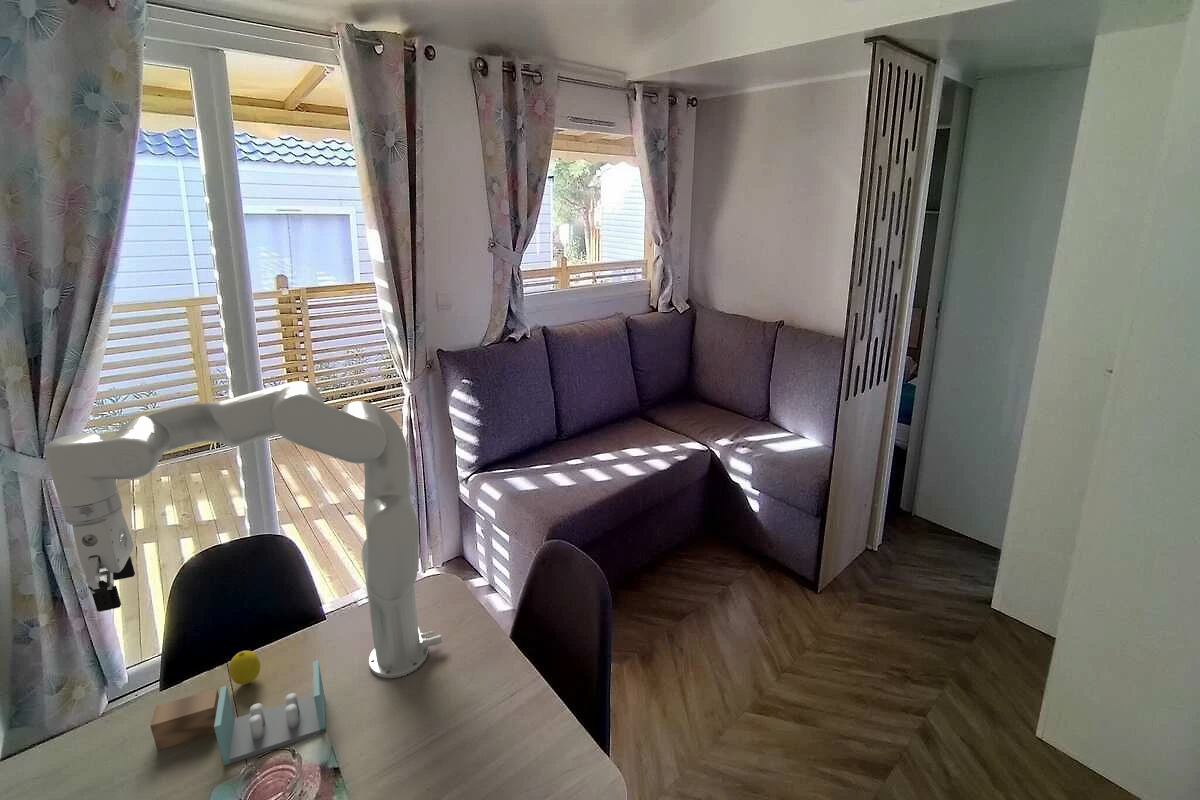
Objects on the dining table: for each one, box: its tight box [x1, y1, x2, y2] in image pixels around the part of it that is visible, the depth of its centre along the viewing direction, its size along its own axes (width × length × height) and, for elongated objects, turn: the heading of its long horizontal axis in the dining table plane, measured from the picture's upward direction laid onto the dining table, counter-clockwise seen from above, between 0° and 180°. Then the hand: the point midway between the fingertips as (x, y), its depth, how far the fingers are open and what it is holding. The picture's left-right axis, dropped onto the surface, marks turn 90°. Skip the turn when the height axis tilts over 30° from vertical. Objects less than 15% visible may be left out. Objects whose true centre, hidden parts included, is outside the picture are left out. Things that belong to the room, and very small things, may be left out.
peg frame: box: [214, 659, 327, 766], centre depth 114 cm, size 17×10×9 cm, turn 116°
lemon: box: [228, 650, 261, 686], centre depth 125 cm, size 6×6×8 cm
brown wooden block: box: [149, 688, 220, 751], centre depth 114 cm, size 10×5×6 cm, turn 115°
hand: (117, 592), depth 105 cm, fingers open, 9 cm apart
